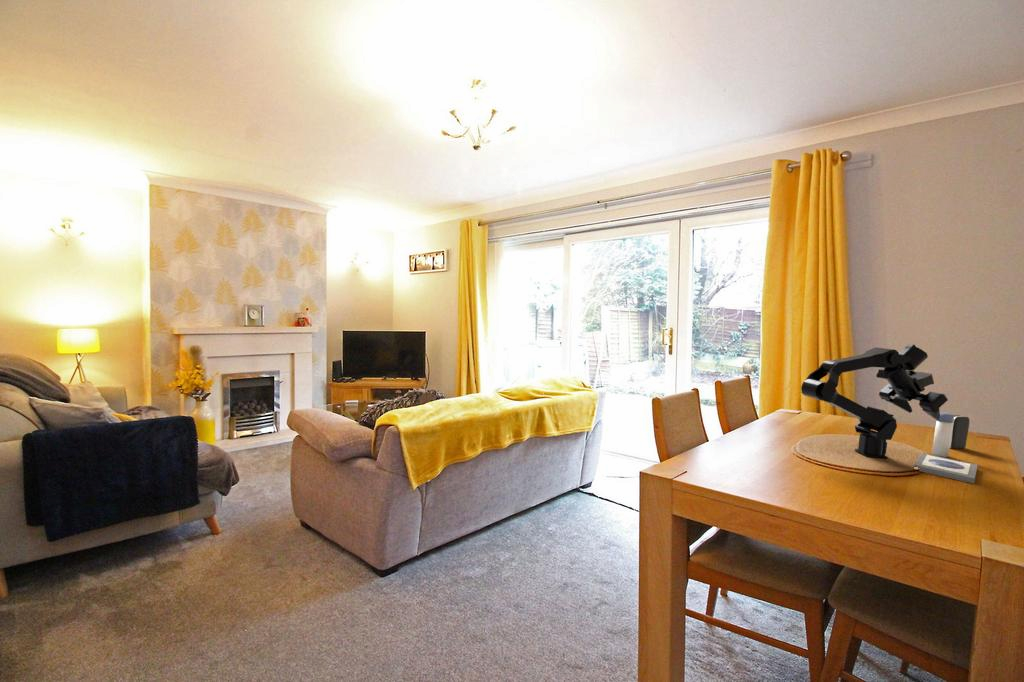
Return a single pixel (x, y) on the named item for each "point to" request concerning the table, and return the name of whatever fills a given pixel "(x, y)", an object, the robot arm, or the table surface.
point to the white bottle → (943, 434)
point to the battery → (959, 432)
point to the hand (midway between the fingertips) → (924, 415)
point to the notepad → (947, 467)
